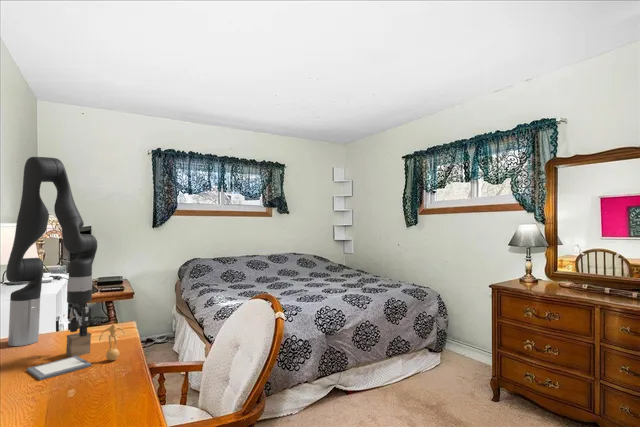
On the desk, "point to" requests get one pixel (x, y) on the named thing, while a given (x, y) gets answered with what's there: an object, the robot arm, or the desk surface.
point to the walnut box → (78, 344)
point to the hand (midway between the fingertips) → (78, 333)
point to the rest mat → (58, 367)
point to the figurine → (114, 352)
